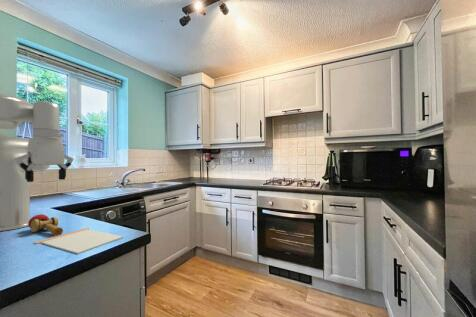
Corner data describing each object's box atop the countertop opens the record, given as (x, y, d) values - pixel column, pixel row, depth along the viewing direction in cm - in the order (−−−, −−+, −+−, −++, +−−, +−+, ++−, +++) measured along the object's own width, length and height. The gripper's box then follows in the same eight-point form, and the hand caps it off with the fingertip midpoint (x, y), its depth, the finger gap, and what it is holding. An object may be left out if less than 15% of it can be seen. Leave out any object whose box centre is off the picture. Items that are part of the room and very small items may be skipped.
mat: (41, 243, 69) (41, 242, 69) (87, 230, 81) (87, 229, 81) (78, 254, 60) (78, 252, 60) (123, 237, 73) (123, 236, 73)
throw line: (33, 243, 69) (33, 242, 69) (86, 228, 83) (86, 228, 83) (36, 244, 68) (36, 243, 68) (89, 229, 83) (89, 228, 83)
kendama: (72, 235, 80) (49, 222, 89) (70, 219, 79) (46, 208, 87) (47, 246, 74) (24, 231, 82) (44, 229, 72) (21, 216, 81)
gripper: (67, 137, 90) (67, 178, 90) (10, 133, 74) (10, 182, 74) (77, 136, 87) (78, 178, 87) (20, 131, 71) (20, 183, 71)
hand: (46, 180), depth 80 cm, fingers open, 9 cm apart
